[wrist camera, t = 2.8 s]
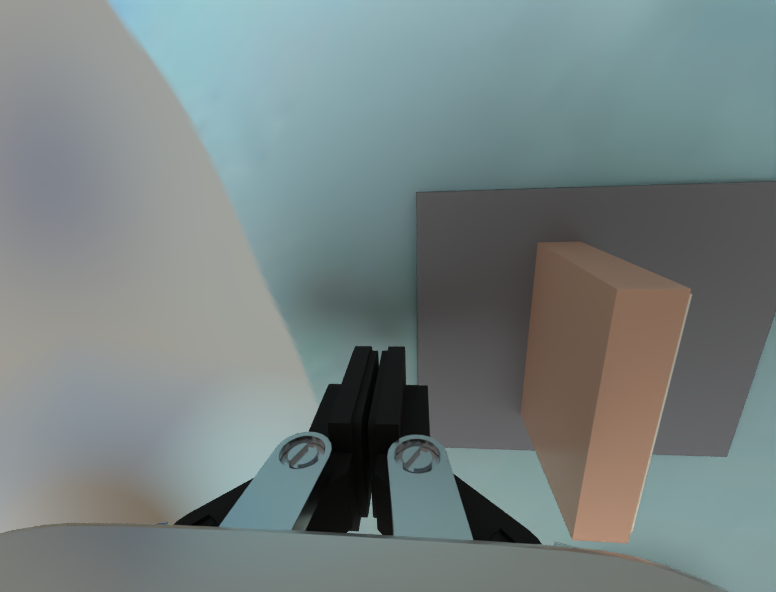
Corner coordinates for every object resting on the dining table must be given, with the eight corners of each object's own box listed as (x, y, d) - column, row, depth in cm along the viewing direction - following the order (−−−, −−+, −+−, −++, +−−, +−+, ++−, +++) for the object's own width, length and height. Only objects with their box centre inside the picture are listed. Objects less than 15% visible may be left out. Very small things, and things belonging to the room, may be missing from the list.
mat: (808, 179, 13) (819, 180, 12) (719, 450, 17) (726, 456, 16) (416, 192, 14) (416, 192, 14) (418, 440, 18) (418, 446, 18)
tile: (585, 241, 14) (701, 288, 8) (560, 415, 16) (634, 543, 11) (537, 242, 14) (617, 289, 8) (520, 414, 17) (572, 539, 11)
